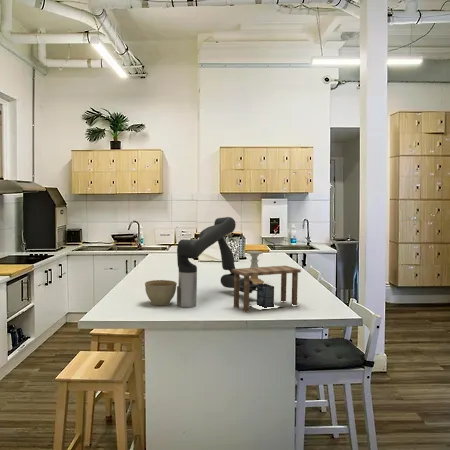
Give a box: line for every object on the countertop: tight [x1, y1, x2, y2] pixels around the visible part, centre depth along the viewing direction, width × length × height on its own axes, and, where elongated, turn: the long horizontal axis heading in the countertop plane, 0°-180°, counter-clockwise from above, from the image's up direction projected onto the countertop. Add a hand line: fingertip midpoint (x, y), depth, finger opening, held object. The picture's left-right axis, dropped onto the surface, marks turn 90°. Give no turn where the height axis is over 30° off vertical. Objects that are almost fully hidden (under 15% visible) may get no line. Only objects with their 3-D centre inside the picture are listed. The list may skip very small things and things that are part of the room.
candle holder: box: [245, 250, 265, 284], centre depth 318 cm, size 12×12×20 cm
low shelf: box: [231, 265, 302, 313], centre depth 254 cm, size 32×14×19 cm, turn 117°
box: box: [256, 283, 275, 308], centre depth 255 cm, size 8×6×11 cm
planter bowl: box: [144, 279, 178, 306], centre depth 258 cm, size 16×16×11 cm
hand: (258, 290), depth 261 cm, fingers open, 8 cm apart
